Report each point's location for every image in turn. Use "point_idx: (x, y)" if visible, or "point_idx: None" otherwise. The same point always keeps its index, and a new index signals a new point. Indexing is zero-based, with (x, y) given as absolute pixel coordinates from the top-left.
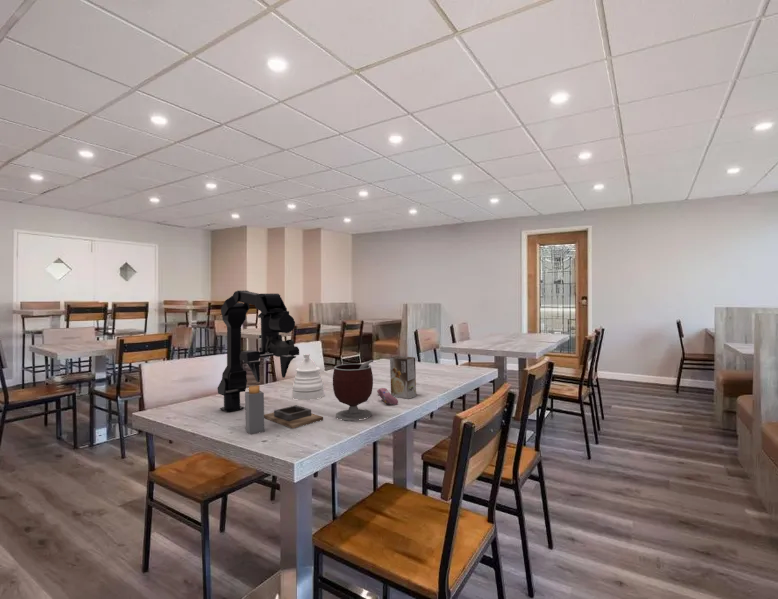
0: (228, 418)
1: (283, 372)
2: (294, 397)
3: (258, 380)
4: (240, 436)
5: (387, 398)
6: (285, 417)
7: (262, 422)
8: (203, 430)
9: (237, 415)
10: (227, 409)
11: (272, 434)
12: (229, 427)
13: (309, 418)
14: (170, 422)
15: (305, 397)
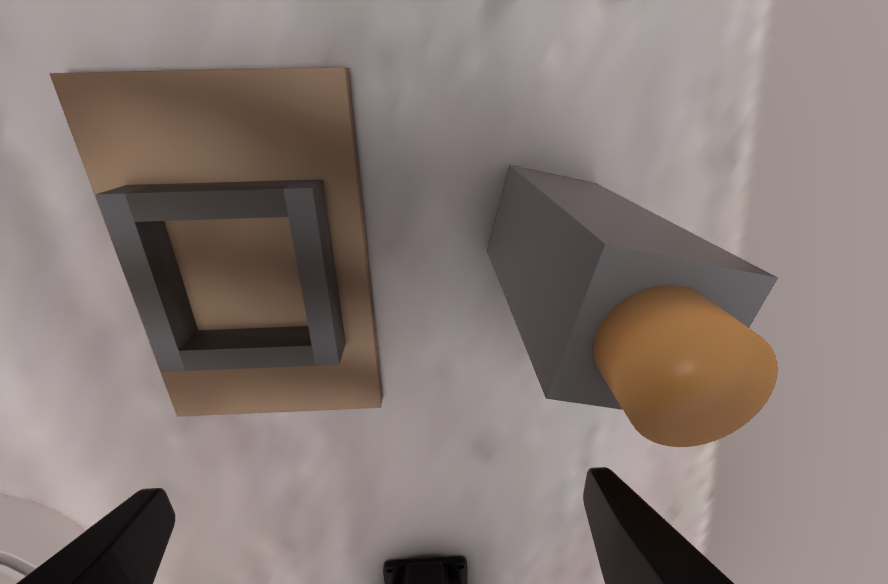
0: (508, 488)
1: (108, 579)
2: None
3: (618, 483)
4: (646, 191)
5: None
6: (323, 224)
7: (534, 178)
8: None
9: (456, 501)
10: (457, 578)
11: (508, 65)
12: None
13: (166, 124)
14: None
15: (36, 526)
